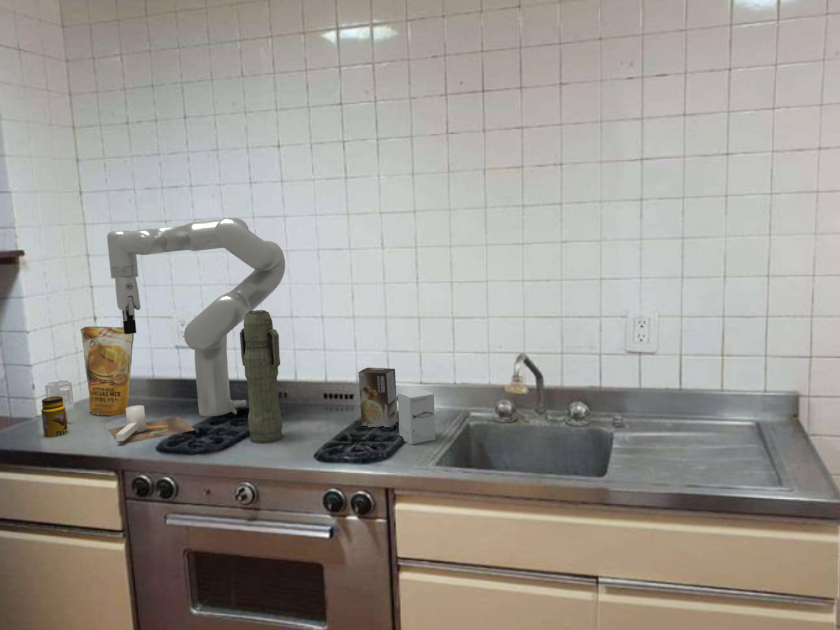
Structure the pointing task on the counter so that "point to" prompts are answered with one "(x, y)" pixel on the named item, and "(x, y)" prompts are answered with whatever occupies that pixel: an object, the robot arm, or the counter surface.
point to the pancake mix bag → (107, 368)
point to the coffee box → (378, 397)
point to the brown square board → (156, 430)
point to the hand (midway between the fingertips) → (130, 333)
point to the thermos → (261, 376)
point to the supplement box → (416, 416)
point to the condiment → (54, 417)
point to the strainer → (61, 393)
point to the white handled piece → (135, 423)
